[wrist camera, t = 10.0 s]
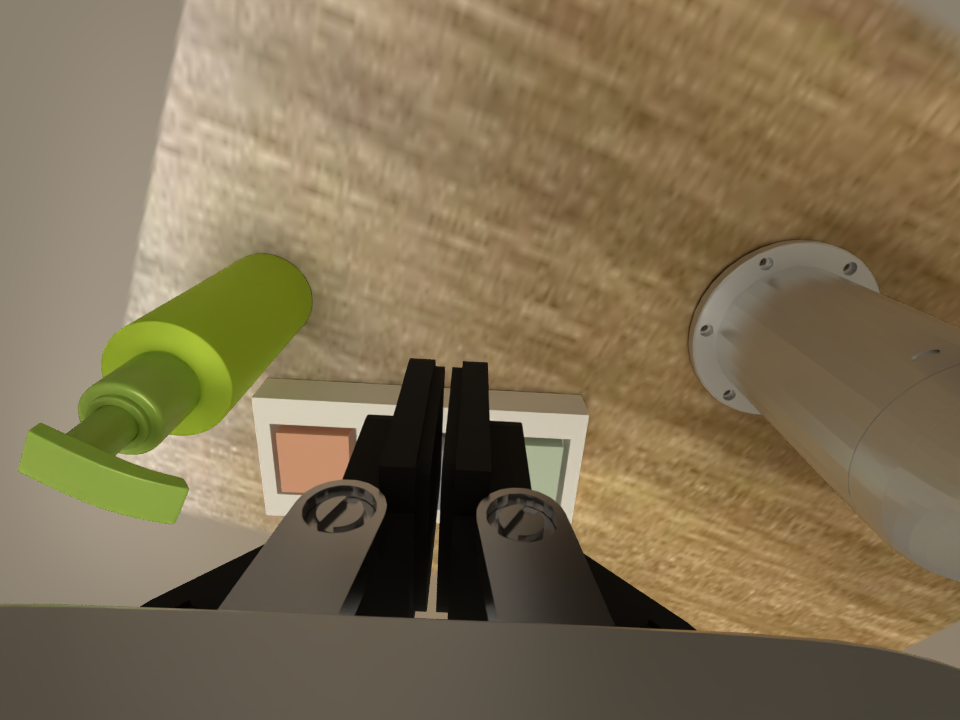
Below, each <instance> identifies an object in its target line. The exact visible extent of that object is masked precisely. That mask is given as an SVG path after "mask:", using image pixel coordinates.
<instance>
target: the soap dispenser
mask: <svg viewBox="0 0 960 720" xmlns="http://www.w3.org/2000/svg"><path fill="white" fill-rule="evenodd" d="M311 309H312V294H311V290H310V287H309V285H308V283H307V281H306V279H305V277H304V276H303V275H302V273H301V272H300V271H299V270H298V269H297V268H296V267H295V266H294V265H292V264H291V263H290V262H288V261H286V260H284V259H282V258H280V257H277V256H274V255H270V254H254V255H250V256H247V257H244V258H242V259H241V260H239V261H237V262H235V263H234V264H232V265H230V266H229V267H227V268H225V269H223V270H222V271H220V272H218V273H216V274H215V275H213V276H211V277H210V278H208V279H206V280H204V281H203V282H201V283H199V284H198V285H196V286H194V287H192V288H191V289H189V290H187V291H186V292H184V293H182V294H180V295H179V296H177V297H175V298H174V299H172V300H170V301H168V302H167V303H165V304H163V305H162V306H160V307H158V308H156V309H155V310H153V311H151V312H149V313H148V314H146V315H144V316H143V317H141V318H139V319H137V320H136V321H134V322H132V323H131V324H129V325H127V326H125V327H124V328H122V329H121V330H119V331H118V332H117V333H115V334H114V335H113V337H112V338H111V339H110V340H109V342H108V343H107V345H106V347H105V349H104V352H103V356H102V375H103V378H102V379H101V380H99V381H98V382H97V383H95V384H94V385H92V386H91V387H90V388H88V389H87V390H86V391H85V392H84V394H83V395H82V396H81V398H80V401H79V404H78V414H79V419H80V422H81V423H80V424H78V425H77V426H76V427H74V428H73V429H72V430H70V431H69V432H68V433H66V434H64V433H62V432H60V431H58V430H56V429H54V428H51V427H49V426H47V425H45V424H43V423H39V424H38V425H36V426H35V427H33V428H32V429H31V430H29V431H28V434H27V437H26V442H25V445H24V449H23V453H22V457H21V461H20V465H19V469H18V472H20V473H22V474H24V475H26V476H28V477H31V478H32V479H34V480H37V481H39V482H41V483H43V484H45V485H47V486H49V487H51V488H54V489H56V490H58V491H60V492H62V493H65V494H67V495H69V496H71V497H74V498H76V499H78V500H81V501H83V502H86V503H88V504H91V505H94V506H96V507H99V508H102V509H105V510H108V511H111V512H115V513H118V514H122V515H126V516H130V517H134V518H139V519H143V520H148V521H154V522H160V523H166V524H174V523H175V522H176V520H177V518H178V515H179V513H180V511H181V508H182V506H183V504H184V501H185V499H186V496H187V494H188V491H189V488H188V486H187V484H186V482H185V480H184V479H182V478H180V477H176V476H172V475H168V474H164V473H160V472H157V471H153V470H150V469H147V468H144V467H141V466H138V465H135V464H133V463H130V462H128V461H125V460H123V459H120V458H118V457H116V456H115V455H116V454H118V453H121V454H127V455H137V454H143V453H146V452H148V451H151V450H152V449H154V448H155V447H157V446H158V445H159V444H160V443H161V442H162V441H163V440H164V439H165V438H166V437H167V436H168V435H179V436H185V435H194V434H199V433H202V432H205V431H207V430H209V429H211V428H213V427H214V426H216V425H217V424H218V423H219V422H220V421H221V420H222V419H223V418H224V417H225V416H226V415H227V414H228V412H229V411H230V410H231V409H232V408H233V407H234V405H235V404H236V403H237V402H238V401H239V400H240V398H241V397H242V396H243V395H244V394H245V393H246V392H247V390H248V389H249V388H250V387H251V386H252V385H253V383H254V382H255V381H256V380H257V379H258V378H259V376H260V375H261V374H262V373H263V372H264V371H265V369H266V368H267V367H268V366H269V365H270V364H271V362H272V361H273V360H274V359H275V358H276V357H277V355H278V354H279V353H280V352H281V351H282V350H283V348H284V347H285V346H286V345H287V344H288V343H289V341H290V340H291V339H292V338H293V337H294V336H295V334H296V333H297V332H298V331H299V330H300V329H301V327H302V326H303V325H304V324H305V323H306V321H307V320H308V318H309V316H310V313H311Z"/></svg>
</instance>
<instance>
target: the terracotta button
mask: <svg viewBox="0 0 960 720" xmlns="http://www.w3.org/2000/svg"><path fill="white" fill-rule="evenodd" d="M276 441H277V451H278V460H279V469H280V478H281V488H282V492H296V493H305V492H306V491H308V490H310V489H311V488H313V487H315V486H317V485H320V484H323V483H326V482H329V481H336V480H342V479H343V476H344V473H345V471H346V468H347V466H348V463H349V460H350V458H351V455H352V452H353V450H354V447H355V428H341V427H322V426H303V425H283V424H281V425H280V427H279V428H278V430H277V432H276Z"/></svg>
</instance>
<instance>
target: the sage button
mask: <svg viewBox="0 0 960 720" xmlns="http://www.w3.org/2000/svg"><path fill="white" fill-rule="evenodd" d="M524 439H525V446H526V453H527V460H528V467H529V474H530V481H531V488H532V490H534V491H538V492H541V493H543V494H545V495H547V496H549V497H551V498H552V499H553V500H554V501H556V496H557V489H558V482H559V475H560V468H561V462H562V455H563V448H564V447H563V444H562V440H561V439H554V438H535V437H524Z"/></svg>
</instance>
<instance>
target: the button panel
mask: <svg viewBox="0 0 960 720" xmlns="http://www.w3.org/2000/svg"><path fill="white" fill-rule="evenodd" d="M401 387H402V385H387V384H368V383H350V382H331V381H312V380H294V379H275V378H267V379H266V380H265V382H264V383H263V384H262V385H261V387H260V388H259V389H258V390H257V391H256V393H255V394H254V395H253V396H252V405H253V413H254V421H255V429H256V437H257V445H258V453H259V461H260V469H261V477H262V485H263V493H264V501H265V508H266V515H277V516H286V514H287V513H288V511H289V510H290V509H291V507H292V506H293V505H294V503H295V502H296V501H297V500H298V499H299V498H300V497H301V496H302V495H303V494H304V493H296V492H282V488H281V478H280V469H279V460H278V451H277V441H276V432H277V430H278V428H279V427H280V425H281V424H283V425H303V426H322V427H341V428H355V445H356V442H357V439H358V437H359V434H360V431H361V429H362V426H363V424H364V421H365V418H366V416H367V415H369V414H372V415H391V416H393V415H394V411H395V408H396V404H397V401H398V397H399V394H400V391H401ZM449 396H450V388H444V405H443V432H442V435H445V434H446V424H447V415H448V406H449ZM489 412H490V421H507V422H521V423H522V426H523V432H524V437H535V438H554V439H561V440H562V444H563V447H564V448H563V455H562V462H561V468H560V475H559V482H558V489H557V496H556V502H557V503H558V504H559V505H560V506H561V507H562V509H563V510H564V512H565V513H566V515H567V517H568V519H569V522H570V524H571V522H572V516H573V510H574V504H575V498H576V492H577V486H578V479H579V473H580V467H581V461H582V455H583V449H584V443H585V437H586V431H587V425H588V419H589V414H588V411H587V408H586V406H585V403H584V400H583V398H582V395H572V394H554V393H535V392H517V391H498V390H489ZM436 523H440V510H437V519H436Z"/></svg>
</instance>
